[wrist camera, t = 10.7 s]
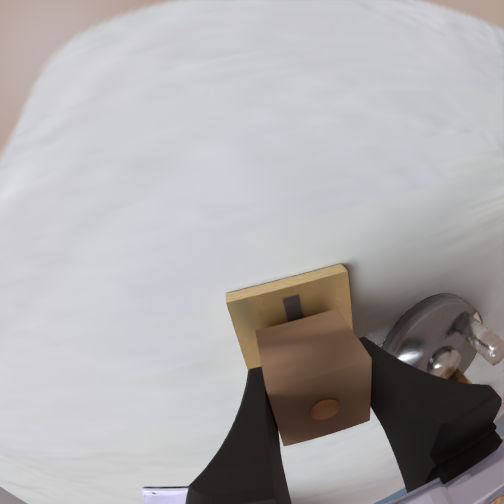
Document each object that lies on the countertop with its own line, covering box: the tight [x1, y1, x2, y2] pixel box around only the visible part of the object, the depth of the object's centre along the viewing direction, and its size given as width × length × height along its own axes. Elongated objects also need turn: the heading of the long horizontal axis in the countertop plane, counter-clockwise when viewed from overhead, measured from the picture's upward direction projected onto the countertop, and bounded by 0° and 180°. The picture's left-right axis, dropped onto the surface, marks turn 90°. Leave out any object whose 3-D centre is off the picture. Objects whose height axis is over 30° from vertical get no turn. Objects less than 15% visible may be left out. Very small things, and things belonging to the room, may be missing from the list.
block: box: [255, 309, 372, 446], centre depth 12 cm, size 4×4×4 cm
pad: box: [226, 264, 353, 371], centre depth 15 cm, size 6×6×1 cm
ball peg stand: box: [382, 293, 504, 384], centre depth 15 cm, size 8×8×6 cm
